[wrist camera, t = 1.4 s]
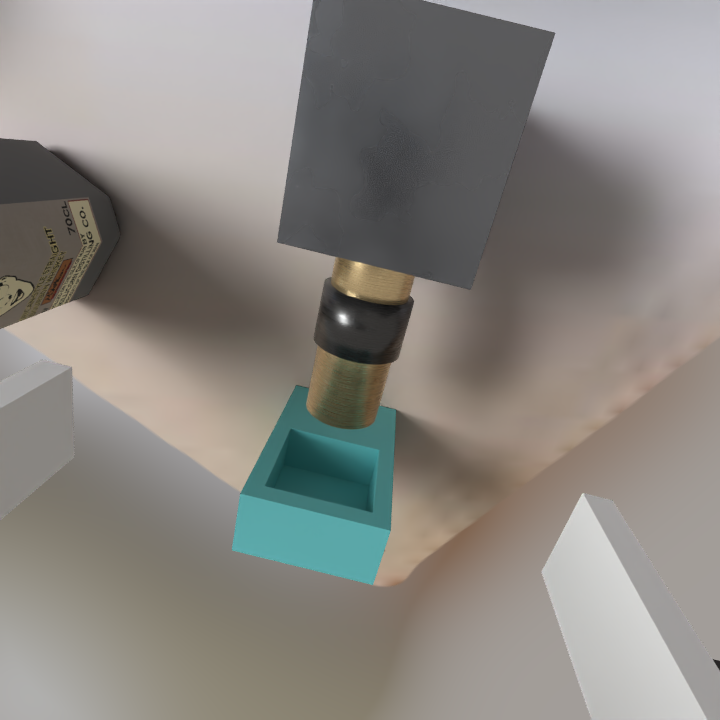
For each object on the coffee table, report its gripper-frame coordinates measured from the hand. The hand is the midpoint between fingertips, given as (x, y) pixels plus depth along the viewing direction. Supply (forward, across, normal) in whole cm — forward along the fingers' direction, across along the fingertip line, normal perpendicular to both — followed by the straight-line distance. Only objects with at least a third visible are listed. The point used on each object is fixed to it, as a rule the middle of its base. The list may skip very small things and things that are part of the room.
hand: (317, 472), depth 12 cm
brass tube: (+15, 0, +3) cm, 16 cm away
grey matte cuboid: (+22, 0, +8) cm, 23 cm away
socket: (+22, 0, -11) cm, 25 cm away
